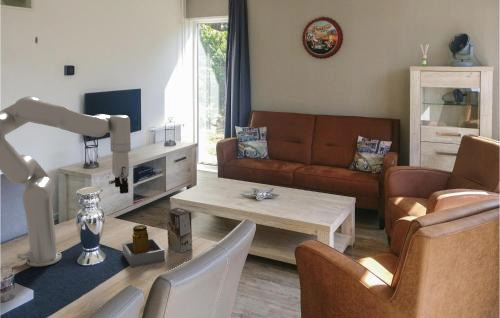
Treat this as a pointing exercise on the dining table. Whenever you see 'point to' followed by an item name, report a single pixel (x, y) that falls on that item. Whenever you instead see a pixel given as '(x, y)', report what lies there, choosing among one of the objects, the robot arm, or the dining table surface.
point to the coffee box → (179, 229)
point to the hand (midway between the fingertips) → (121, 189)
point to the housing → (144, 254)
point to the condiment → (140, 240)
